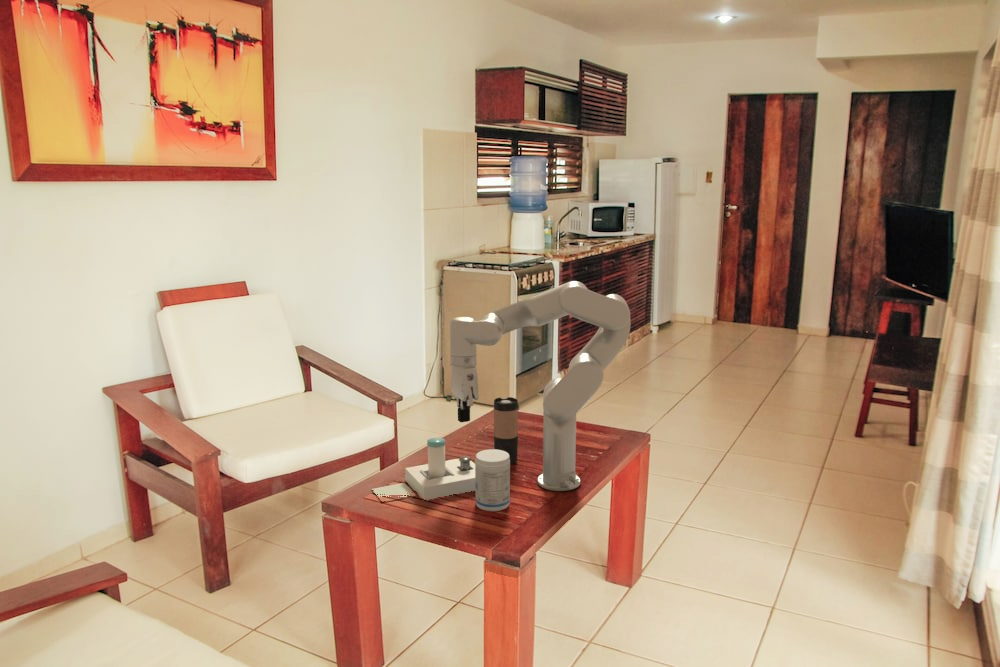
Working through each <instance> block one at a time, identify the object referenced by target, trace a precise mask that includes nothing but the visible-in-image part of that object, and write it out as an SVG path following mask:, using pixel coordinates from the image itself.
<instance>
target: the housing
mask: <svg viewBox="0 0 1000 667" xmlns="http://www.w3.org/2000/svg"><path fill="white" fill-rule="evenodd" d="M459 458H460V457H459ZM459 458H454V459H449V460H445V473H446V476H445V477H440V478H434V479H431V478H430V477H429V476H428V463H426V464H419V465H415V466H409V467H405V468H404V478H405V480H406V481H407V482H408V483H407V482H406V481H405V482H406V483H407V484H408V485H409V486H410V488H412V489H413V491H414V492H415V491H416V492H417V493H418V494H419V495H420V496H421V497H422V498H423V499H424V500H425V499H431V498H437V497H442V496H447V497H450V496H449V495H452V496H454V495H453V494H457V495H460V494H459V493H462V494H466V493H465V492H467V493H471V491H472V492H475V462H473V461H472V460H471V461H470V470H467V471H461V470H460V461H459ZM416 492H415V493H416ZM417 493H416V494H417ZM418 494H417V495H418ZM419 495H418V496H419ZM420 496H419V497H420ZM421 497H420V498H421ZM422 498H421V499H422ZM442 498H443V497H442ZM423 499H422V500H423ZM437 499H438V498H437ZM424 500H423V501H424Z"/></svg>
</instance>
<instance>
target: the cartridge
mask: <svg viewBox="0 0 1000 667" xmlns="http://www.w3.org/2000/svg"><path fill="white" fill-rule="evenodd" d="M426 443H427V444H426V445H427V464H428V476H429V477H430V478H431V479H434V478H440V477H445V476H446V473H445V461H446V439H444V438H442V437H433V438H432V437H431V438H429V439H427V442H426Z"/></svg>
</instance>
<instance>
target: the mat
mask: <svg viewBox="0 0 1000 667" xmlns="http://www.w3.org/2000/svg"><path fill="white" fill-rule="evenodd" d="M372 490H374V491H372ZM371 491H372V492H373V494H374V493H375V494H376V495H377V494H378V495H377V496H379V497H380V496H381V497H382V496H386V497H387V496H388V497H389V495H403V496H400V497H407V495H409V494H410V493H411V492H413V490H412V489H411V487H409V486H408V485H407V484H406V483H405V482H401V483H396V484H391V485H385V486H380V487H375V488H371ZM409 491H410V492H409ZM407 493H408V494H407ZM413 493H414V492H413ZM413 493H411V494H413ZM375 494H374V495H375ZM380 494H381V495H380ZM382 494H383V495H382ZM384 494H385V495H384ZM376 495H375V496H376ZM404 495H406V496H404ZM377 496H376V497H377ZM409 496H410V495H409ZM390 497H391V496H390ZM398 497H399V496H398Z"/></svg>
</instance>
